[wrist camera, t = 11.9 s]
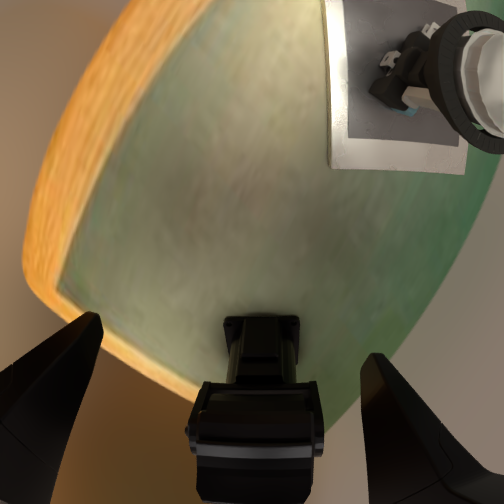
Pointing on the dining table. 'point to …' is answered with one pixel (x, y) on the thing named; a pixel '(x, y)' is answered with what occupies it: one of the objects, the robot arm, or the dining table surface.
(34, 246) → the dining table surface
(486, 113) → the push button
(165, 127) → the dining table surface
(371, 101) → the mounting plate
